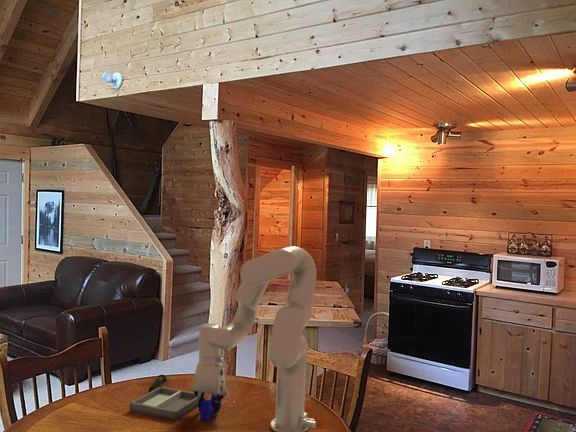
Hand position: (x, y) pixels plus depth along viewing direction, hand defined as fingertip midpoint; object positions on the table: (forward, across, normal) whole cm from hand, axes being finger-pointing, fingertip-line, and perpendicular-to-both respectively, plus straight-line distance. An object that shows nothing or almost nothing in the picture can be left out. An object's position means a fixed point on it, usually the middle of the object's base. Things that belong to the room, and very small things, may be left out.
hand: (209, 410), depth 176 cm
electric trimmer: (+1, +32, -15) cm, 35 cm away
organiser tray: (+1, +16, +1) cm, 17 cm away
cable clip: (+1, 0, 0) cm, 1 cm away
